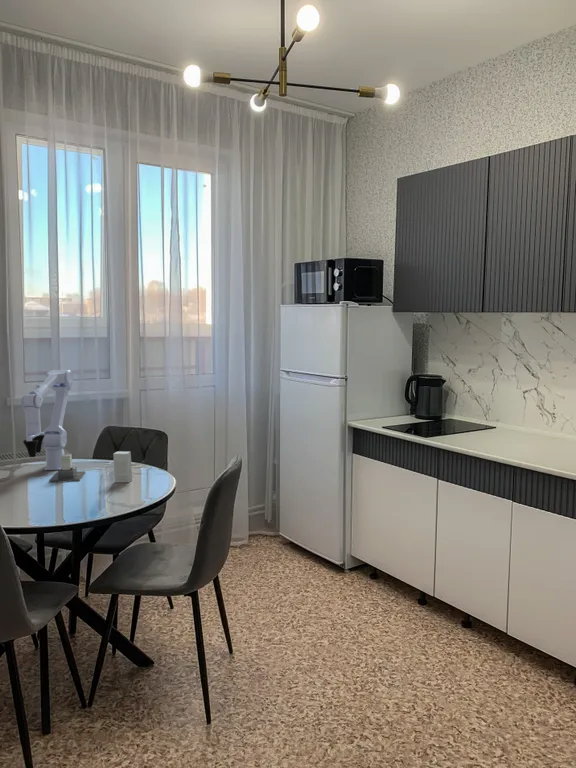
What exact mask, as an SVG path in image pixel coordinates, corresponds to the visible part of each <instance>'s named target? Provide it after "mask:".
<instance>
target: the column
mask: <svg viewBox="0 0 576 768" xmlns="http://www.w3.org/2000/svg"><path fill="white" fill-rule="evenodd" d="M61 463H62V471H72V467H73V455H72V453H69V454H68V453H66V454H65V453H64V454H63V455H62V456H61Z"/></svg>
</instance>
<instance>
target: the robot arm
mask: <svg viewBox="0 0 576 768" xmlns="http://www.w3.org/2000/svg"><path fill="white" fill-rule="evenodd" d="M73 382H74V375H73V373H72V371H71V370H70V369H68V370H67V369H65V370H61V369H58V370H57V369H55V370H52V369H50V370H48V371H47V373H46V378H45V380H44V381H43V382H42V383H40V384H39V383H37V384H36V385H35V387H34V388H33V389H32V390H31V391H30V392H29V393H25V394H23V395H22V397H21V401H20V404H21V407H22V409H23V412H24V419H25V420H24V421H25V438H26V439H24V440H23V441H22V442H23V445H24V446H25V448H26V451H27V452H28V455H29V457H30V458H35V457H36V456H37V454H38V453H41V452H42V451H41V450H42V448H43V450H45V462H46V463H45V465H46V466H45V467H44V469H43V471H57V470H58V471H59V470H60V469H61V468H62V463H61V456H62V455H63V454H65V450H64V448H65V446H66V445H67V443H68V437H67V435H68V432H67V430H66V429H64V428H63V424H64V419H65V413H66V408H67V402H68V398H69V392H70V391H71V390H72V388H73ZM50 389H52V390H53V391H55V392H56V394H55V398H54V404H53V409H52V414H51V417H50V424H49V426H47V427H46V428H44V430H43V431H42V427H41V426H42V424H41V411H40V410H41V409H40V408H41V407H42V404H43V402H44V399H45V398H46V397H47V396H48V395H49V392H50V391H49V390H50Z"/></svg>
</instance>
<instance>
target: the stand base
mask: <svg viewBox="0 0 576 768" xmlns="http://www.w3.org/2000/svg"><path fill="white" fill-rule="evenodd" d="M77 468H78V467H77V466H74V467H73V466H72V471H62V468H61V469H60V470H58V471H57V472H55V473H54V474H53V475H52V477H51V478H50V479H48V482H49V483H56V482H55V481H67V482H80V481H81V480H80V479H82V478H84V476H85V474H86V471H85V470H84V471H83V470H81V471H77V470H78V469H77ZM83 475H84V476H83Z"/></svg>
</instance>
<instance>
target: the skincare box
mask: <svg viewBox="0 0 576 768" xmlns="http://www.w3.org/2000/svg"><path fill="white" fill-rule="evenodd" d="M112 455H113V471H114V473H113V476H114V483H130V482H131V481H132V480H133V473H132V472H133V471H132V470H133V469H132V453H131V451H115V452H114V453H113V454H112Z"/></svg>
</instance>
